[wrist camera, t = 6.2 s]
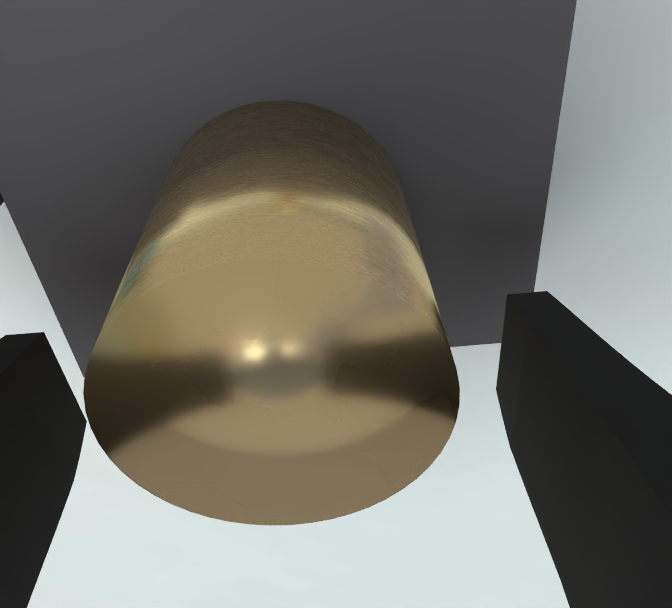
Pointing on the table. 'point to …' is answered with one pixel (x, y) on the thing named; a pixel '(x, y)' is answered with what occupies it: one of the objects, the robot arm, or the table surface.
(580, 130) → the table surface
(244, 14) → the scale pan
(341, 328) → the cylinder
